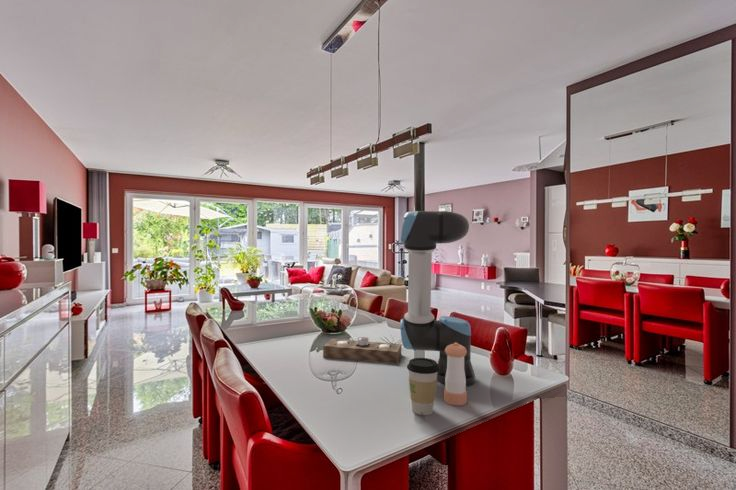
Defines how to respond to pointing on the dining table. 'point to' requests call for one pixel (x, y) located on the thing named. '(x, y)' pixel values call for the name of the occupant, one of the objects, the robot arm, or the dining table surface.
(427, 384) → the coffee cup
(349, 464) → the dining table surface
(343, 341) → the left knob
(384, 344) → the right knob
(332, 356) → the block
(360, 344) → the pot dial
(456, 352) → the salt shaker
